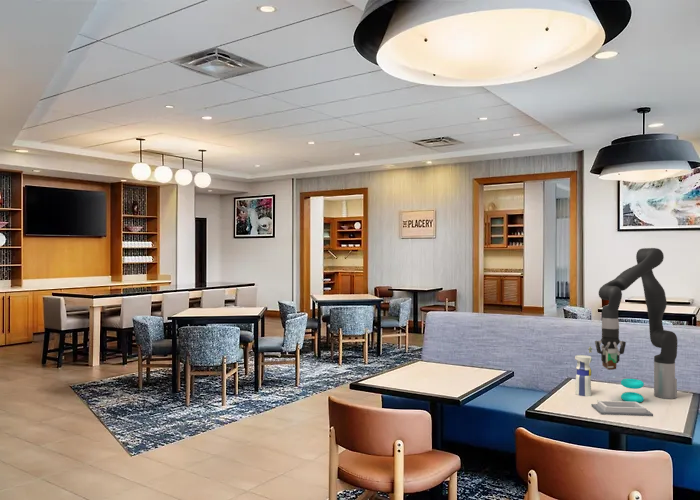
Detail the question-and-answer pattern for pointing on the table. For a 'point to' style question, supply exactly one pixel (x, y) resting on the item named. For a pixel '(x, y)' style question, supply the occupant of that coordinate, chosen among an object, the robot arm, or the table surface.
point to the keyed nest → (621, 408)
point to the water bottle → (583, 375)
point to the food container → (610, 358)
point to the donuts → (632, 395)
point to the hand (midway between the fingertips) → (610, 362)
